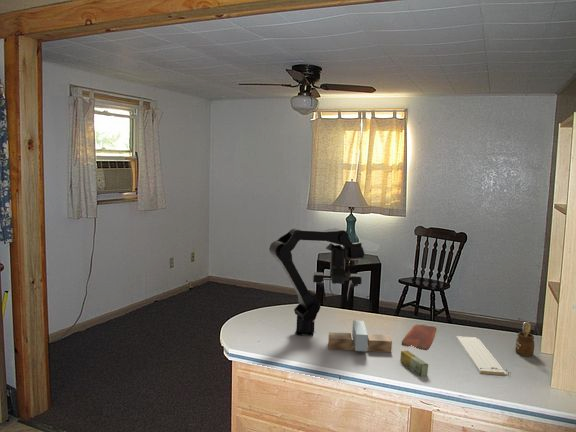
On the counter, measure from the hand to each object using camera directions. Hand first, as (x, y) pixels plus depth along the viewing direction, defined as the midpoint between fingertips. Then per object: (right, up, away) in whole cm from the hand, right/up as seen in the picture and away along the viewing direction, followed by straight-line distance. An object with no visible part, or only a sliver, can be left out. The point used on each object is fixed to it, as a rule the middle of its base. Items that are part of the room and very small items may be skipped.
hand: (336, 299), depth 186 cm
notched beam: (+7, -14, -17) cm, 23 cm away
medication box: (+22, -17, -32) cm, 43 cm away
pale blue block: (+7, -13, -17) cm, 22 cm away
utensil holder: (+66, -17, -18) cm, 70 cm away
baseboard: (+49, -17, -20) cm, 56 cm away
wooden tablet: (+33, -14, -4) cm, 36 cm away
